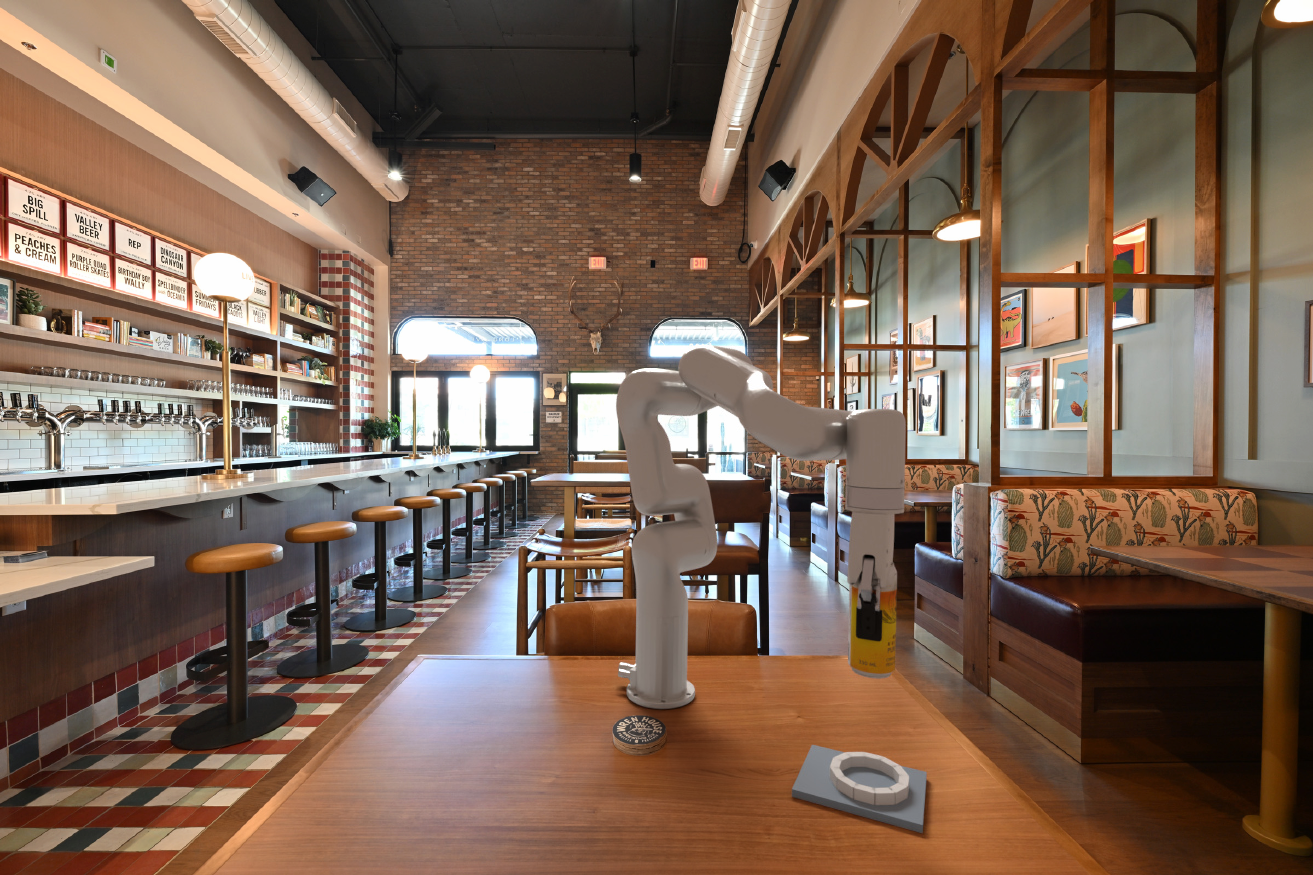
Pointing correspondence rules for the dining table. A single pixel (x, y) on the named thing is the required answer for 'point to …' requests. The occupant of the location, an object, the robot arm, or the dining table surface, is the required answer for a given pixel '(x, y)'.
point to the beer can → (869, 654)
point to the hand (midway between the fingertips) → (871, 630)
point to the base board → (863, 786)
